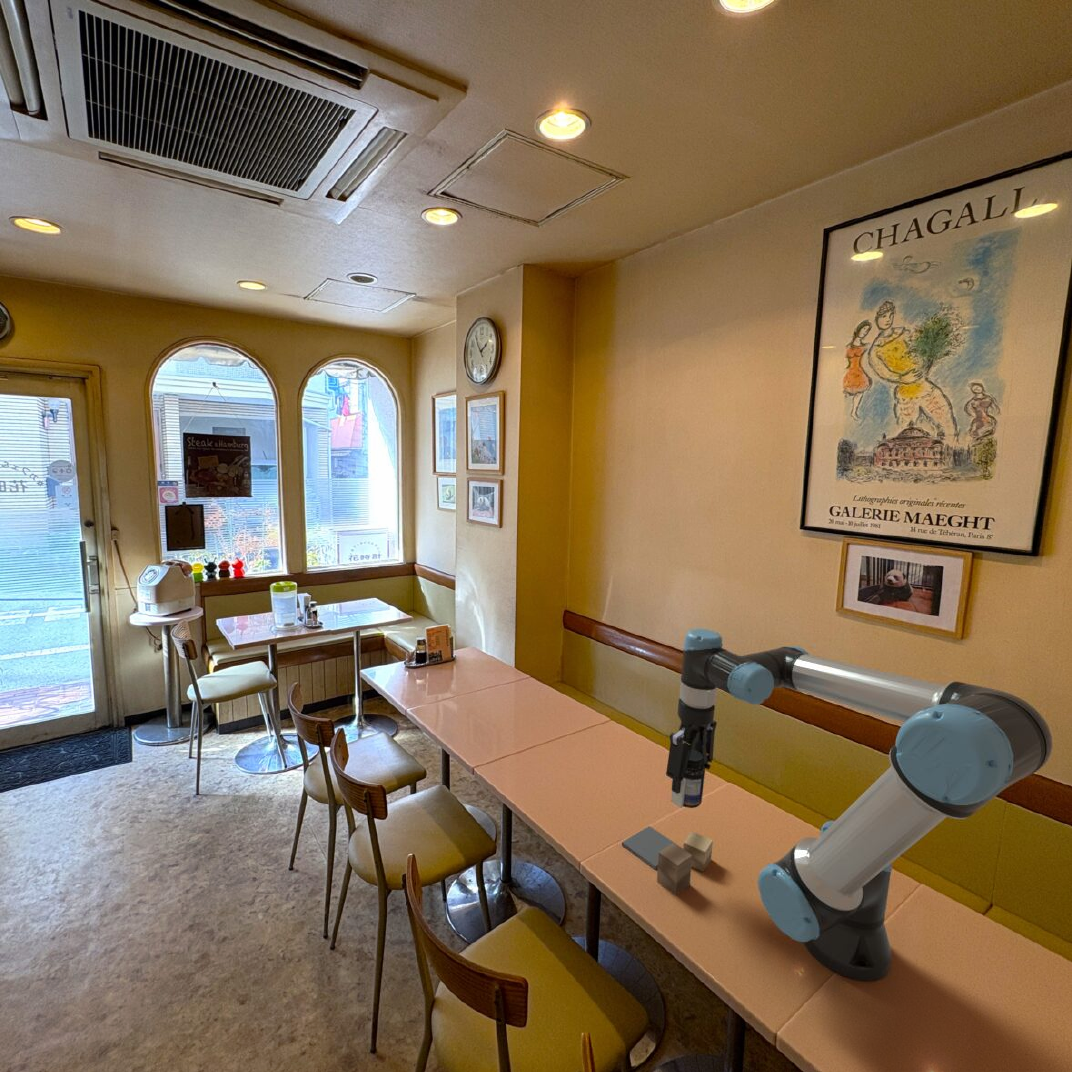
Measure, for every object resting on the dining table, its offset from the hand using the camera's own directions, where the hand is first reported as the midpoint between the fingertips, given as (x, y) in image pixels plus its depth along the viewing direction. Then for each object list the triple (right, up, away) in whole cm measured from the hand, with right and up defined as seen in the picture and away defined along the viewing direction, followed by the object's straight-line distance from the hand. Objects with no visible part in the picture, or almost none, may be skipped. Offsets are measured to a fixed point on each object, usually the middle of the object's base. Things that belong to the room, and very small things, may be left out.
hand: (686, 798), depth 125 cm
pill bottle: (0, -1, 0) cm, 1 cm away
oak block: (+4, -17, +5) cm, 18 cm away
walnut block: (-4, -17, -2) cm, 18 cm away
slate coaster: (-6, -16, +9) cm, 19 cm away
